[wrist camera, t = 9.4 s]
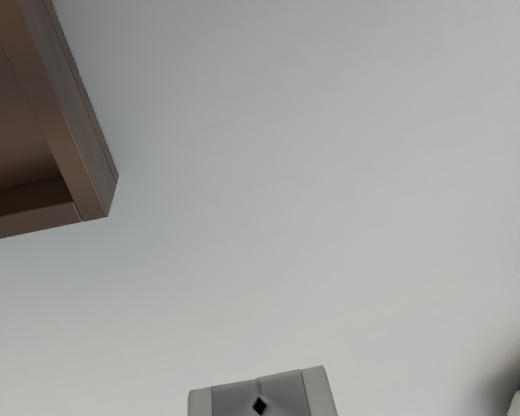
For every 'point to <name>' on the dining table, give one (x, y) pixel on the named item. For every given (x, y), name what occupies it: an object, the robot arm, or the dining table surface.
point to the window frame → (46, 128)
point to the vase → (515, 405)
